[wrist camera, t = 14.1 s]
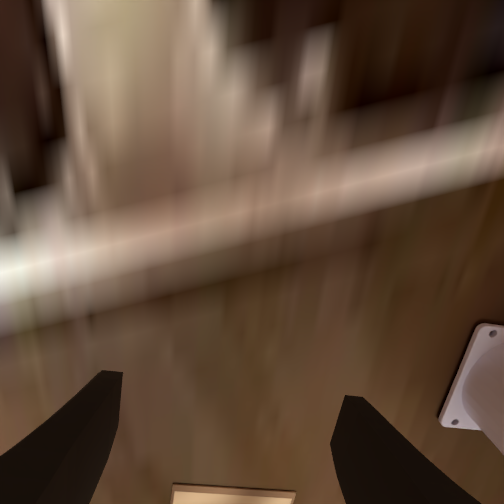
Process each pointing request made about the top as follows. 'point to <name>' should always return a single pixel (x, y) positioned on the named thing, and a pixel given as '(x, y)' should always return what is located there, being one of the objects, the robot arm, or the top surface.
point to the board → (228, 495)
